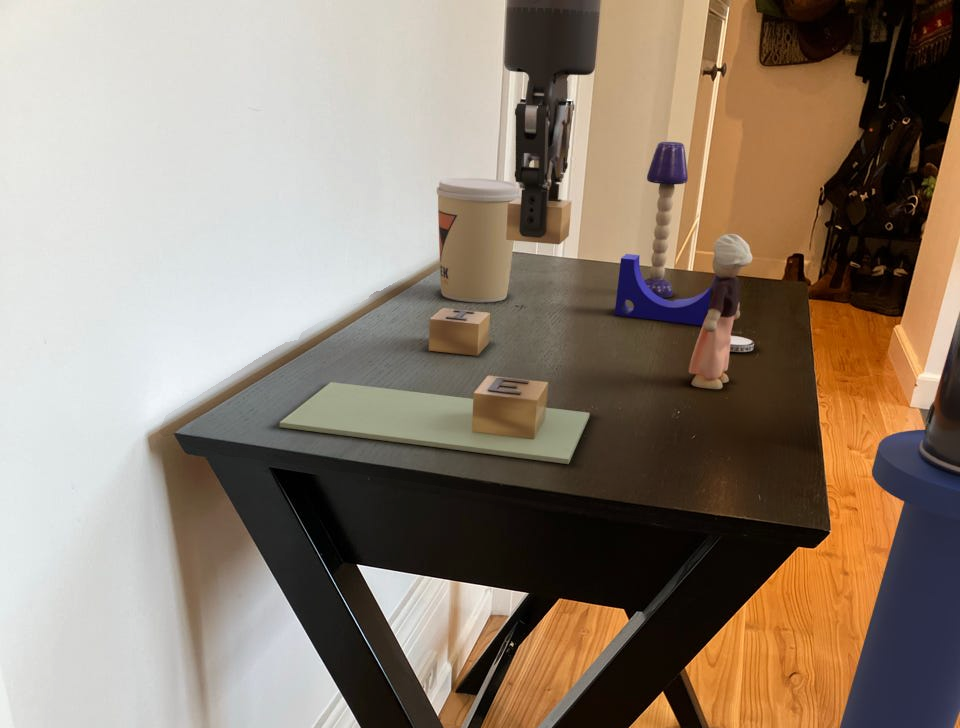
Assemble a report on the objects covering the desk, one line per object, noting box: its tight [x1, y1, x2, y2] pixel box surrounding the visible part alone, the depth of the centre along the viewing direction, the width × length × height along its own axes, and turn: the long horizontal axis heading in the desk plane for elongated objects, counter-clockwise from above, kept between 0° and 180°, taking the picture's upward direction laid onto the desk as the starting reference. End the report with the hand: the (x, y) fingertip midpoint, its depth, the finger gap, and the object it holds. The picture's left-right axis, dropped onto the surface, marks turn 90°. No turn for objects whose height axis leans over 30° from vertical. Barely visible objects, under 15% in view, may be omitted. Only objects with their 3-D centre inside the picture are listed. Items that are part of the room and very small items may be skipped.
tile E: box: [472, 374, 549, 439], centre depth 76 cm, size 5×5×3 cm
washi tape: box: [730, 335, 755, 353], centre depth 102 cm, size 4×4×1 cm
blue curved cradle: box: [614, 253, 718, 326], centre depth 111 cm, size 12×4×6 cm, turn 72°
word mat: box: [279, 381, 591, 465], centre depth 78 cm, size 22×11×1 cm, turn 77°
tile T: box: [506, 196, 572, 245], centre depth 89 cm, size 5×5×3 cm
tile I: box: [428, 307, 491, 357], centre depth 97 cm, size 5×5×3 cm
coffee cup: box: [436, 177, 522, 304], centre depth 114 cm, size 9×9×12 cm
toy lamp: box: [644, 141, 689, 299], centre depth 118 cm, size 5×5×17 cm
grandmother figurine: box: [688, 233, 753, 390], centre depth 87 cm, size 8×4×13 cm, turn 162°
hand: (538, 231), depth 89 cm, fingers closed on tile T, 4 cm apart
